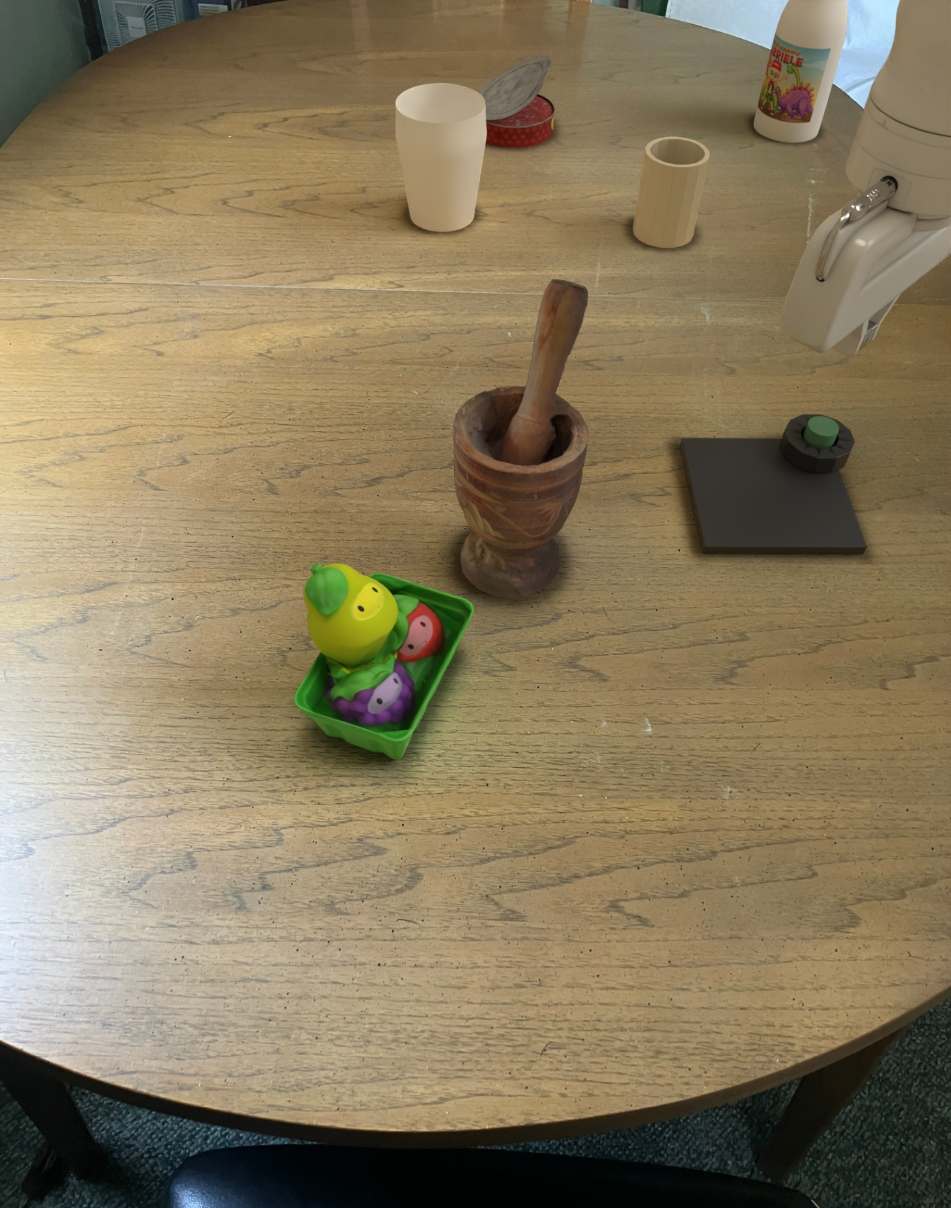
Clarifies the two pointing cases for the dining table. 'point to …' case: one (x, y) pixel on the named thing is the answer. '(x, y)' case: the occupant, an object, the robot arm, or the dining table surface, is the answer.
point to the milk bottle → (801, 69)
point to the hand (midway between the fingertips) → (852, 345)
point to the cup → (441, 153)
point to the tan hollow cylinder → (670, 191)
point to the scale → (772, 494)
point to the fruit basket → (376, 654)
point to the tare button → (821, 432)
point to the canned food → (519, 105)
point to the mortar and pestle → (522, 460)
